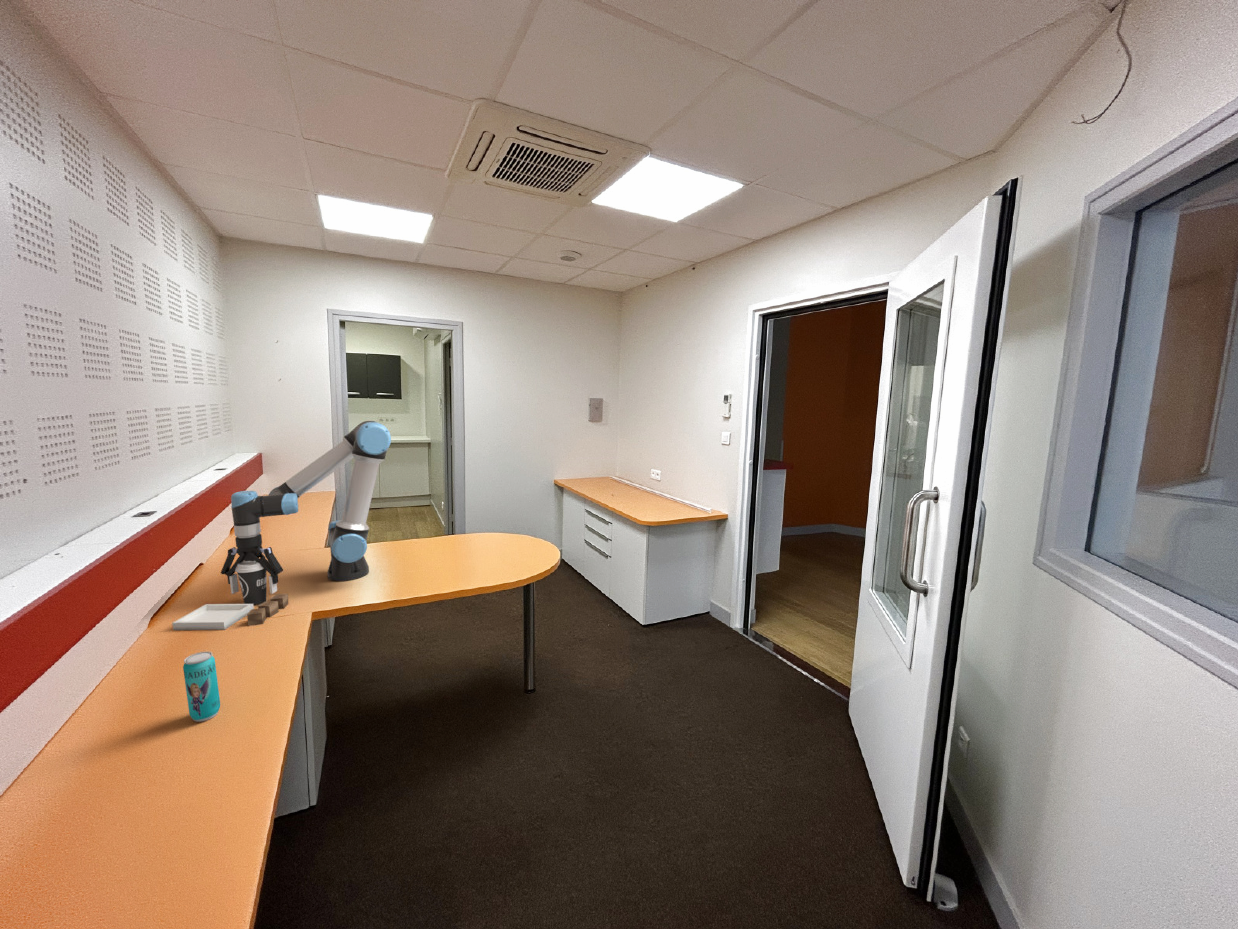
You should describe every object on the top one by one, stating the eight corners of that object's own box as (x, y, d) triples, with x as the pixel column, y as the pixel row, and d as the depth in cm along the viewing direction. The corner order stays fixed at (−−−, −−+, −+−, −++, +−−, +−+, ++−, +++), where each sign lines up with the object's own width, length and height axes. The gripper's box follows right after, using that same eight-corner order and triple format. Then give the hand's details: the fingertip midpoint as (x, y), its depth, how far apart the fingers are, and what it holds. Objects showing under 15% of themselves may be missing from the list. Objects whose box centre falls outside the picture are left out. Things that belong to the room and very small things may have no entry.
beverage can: (186, 726, 118) (178, 665, 116) (195, 712, 124) (187, 653, 121) (217, 720, 121) (209, 660, 118) (224, 706, 126) (217, 648, 123)
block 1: (266, 619, 172) (264, 607, 172) (262, 624, 169) (261, 612, 168) (251, 621, 171) (250, 609, 170) (248, 626, 167) (247, 614, 167)
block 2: (278, 612, 178) (277, 601, 177) (270, 617, 174) (269, 606, 173) (267, 611, 178) (266, 600, 177) (259, 617, 174) (257, 605, 173)
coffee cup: (255, 609, 180) (250, 568, 177) (232, 606, 182) (227, 565, 179) (278, 598, 189) (274, 558, 187) (256, 595, 191) (251, 557, 189)
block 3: (288, 604, 184) (287, 593, 183) (283, 609, 180) (282, 598, 180) (276, 605, 183) (275, 594, 183) (271, 610, 179) (269, 599, 179)
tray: (253, 610, 179) (253, 603, 178) (224, 629, 165) (223, 622, 164) (206, 611, 178) (205, 604, 178) (173, 630, 164) (172, 622, 164)
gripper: (290, 531, 186) (296, 588, 189) (219, 532, 185) (226, 588, 188) (277, 538, 178) (283, 596, 181) (203, 538, 177) (211, 596, 181)
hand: (254, 592), depth 185 cm, fingers open, 13 cm apart
